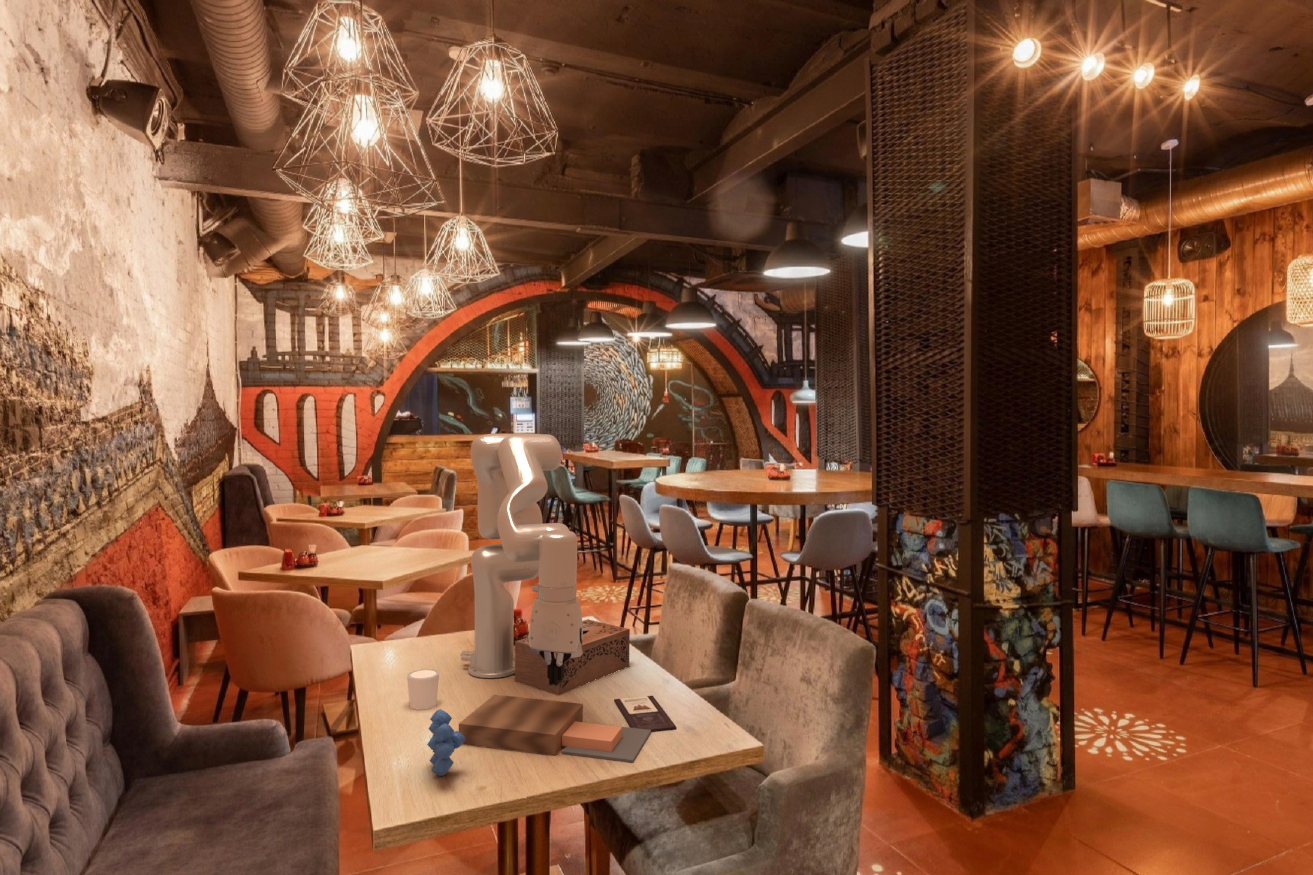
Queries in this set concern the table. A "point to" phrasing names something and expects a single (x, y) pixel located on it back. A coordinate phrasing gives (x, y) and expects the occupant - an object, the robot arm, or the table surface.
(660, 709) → the chocolate bar
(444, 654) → the table surface
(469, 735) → the stand
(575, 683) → the tissue box cover
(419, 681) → the pale tapered cup
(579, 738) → the orange flat block
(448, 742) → the grapes
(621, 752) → the mat
